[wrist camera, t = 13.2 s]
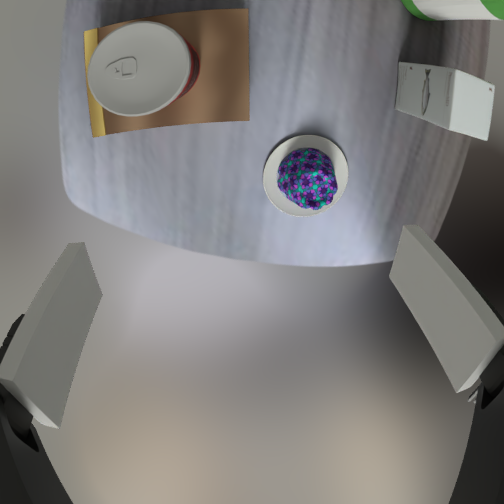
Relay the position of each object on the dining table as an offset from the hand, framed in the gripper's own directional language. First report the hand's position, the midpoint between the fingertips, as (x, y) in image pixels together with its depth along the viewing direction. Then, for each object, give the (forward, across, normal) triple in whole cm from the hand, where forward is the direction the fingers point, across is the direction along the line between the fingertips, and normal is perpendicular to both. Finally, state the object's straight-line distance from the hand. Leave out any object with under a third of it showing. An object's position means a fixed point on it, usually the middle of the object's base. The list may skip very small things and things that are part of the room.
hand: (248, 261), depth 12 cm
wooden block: (+29, -7, +8) cm, 31 cm away
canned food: (+24, -7, +8) cm, 26 cm away
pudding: (+29, +10, -7) cm, 32 cm away
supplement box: (+29, +26, +7) cm, 39 cm away
